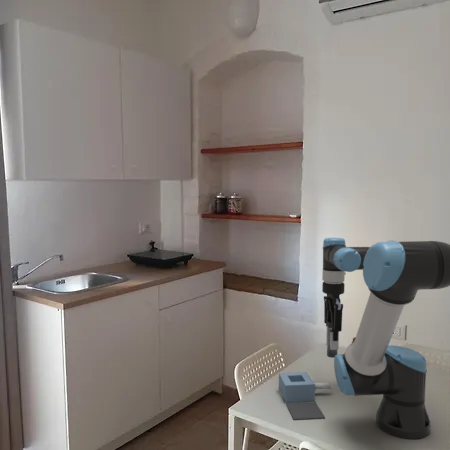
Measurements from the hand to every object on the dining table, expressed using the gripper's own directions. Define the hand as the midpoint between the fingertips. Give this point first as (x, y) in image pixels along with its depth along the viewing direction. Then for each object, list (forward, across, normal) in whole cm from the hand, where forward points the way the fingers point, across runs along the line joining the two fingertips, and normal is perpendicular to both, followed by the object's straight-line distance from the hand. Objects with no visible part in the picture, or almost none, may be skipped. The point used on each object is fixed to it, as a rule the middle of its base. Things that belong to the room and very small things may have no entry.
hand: (332, 347), depth 159 cm
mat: (+15, -15, +14) cm, 26 cm away
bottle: (+3, 0, 0) cm, 3 cm away
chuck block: (+15, -4, +11) cm, 19 cm away
